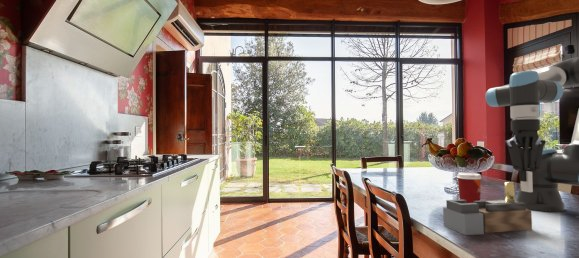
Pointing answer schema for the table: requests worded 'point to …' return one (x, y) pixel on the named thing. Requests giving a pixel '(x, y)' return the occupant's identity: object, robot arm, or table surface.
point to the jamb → (463, 217)
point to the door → (505, 216)
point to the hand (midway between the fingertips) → (526, 191)
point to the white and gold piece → (506, 194)
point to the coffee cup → (469, 186)
